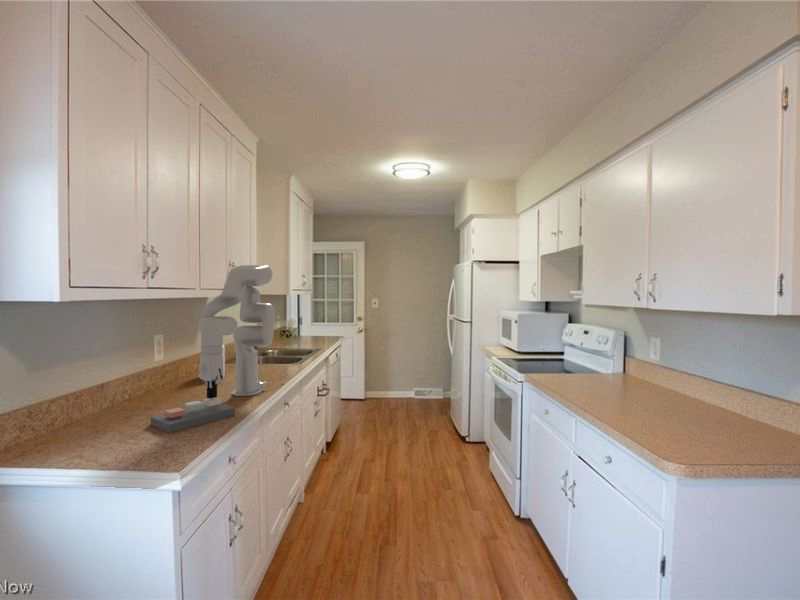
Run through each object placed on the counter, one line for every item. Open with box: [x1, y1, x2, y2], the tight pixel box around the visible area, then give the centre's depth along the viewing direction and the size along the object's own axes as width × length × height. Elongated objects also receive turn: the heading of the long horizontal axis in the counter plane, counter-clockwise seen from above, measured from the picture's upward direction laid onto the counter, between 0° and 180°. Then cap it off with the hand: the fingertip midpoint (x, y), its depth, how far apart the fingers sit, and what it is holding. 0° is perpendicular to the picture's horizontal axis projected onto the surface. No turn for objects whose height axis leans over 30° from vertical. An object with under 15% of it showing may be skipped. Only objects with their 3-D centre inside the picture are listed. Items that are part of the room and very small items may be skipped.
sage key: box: [183, 400, 204, 411], centre depth 147 cm, size 5×5×2 cm
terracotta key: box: [163, 407, 185, 418], centre depth 142 cm, size 5×5×2 cm
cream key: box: [202, 396, 223, 406], centre depth 153 cm, size 5×5×2 cm
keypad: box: [150, 403, 236, 434], centre depth 148 cm, size 24×14×3 cm, turn 145°
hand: (211, 397), depth 153 cm, fingers closed
